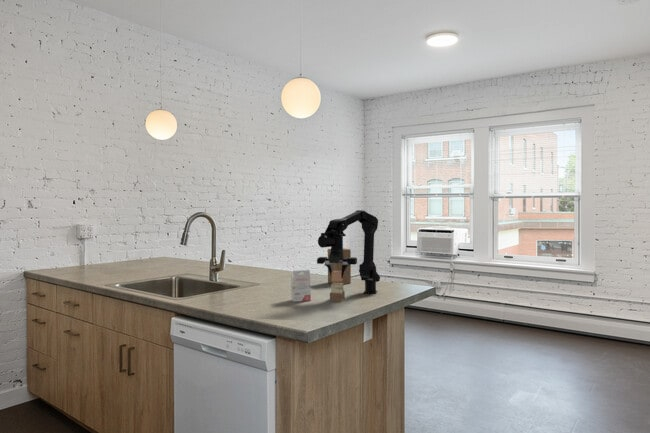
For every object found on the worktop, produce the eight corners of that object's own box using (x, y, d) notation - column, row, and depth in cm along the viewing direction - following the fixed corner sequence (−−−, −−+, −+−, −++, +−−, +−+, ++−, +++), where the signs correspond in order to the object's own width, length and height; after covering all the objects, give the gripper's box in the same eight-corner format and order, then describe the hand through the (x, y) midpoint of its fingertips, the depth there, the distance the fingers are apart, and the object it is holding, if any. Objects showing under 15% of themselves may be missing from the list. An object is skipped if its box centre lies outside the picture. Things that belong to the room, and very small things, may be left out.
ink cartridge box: (308, 298, 227) (308, 268, 226) (310, 300, 222) (310, 270, 221) (291, 299, 224) (290, 269, 224) (293, 301, 219) (292, 270, 219)
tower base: (332, 298, 227) (332, 290, 226) (344, 299, 225) (344, 291, 225) (329, 301, 221) (329, 293, 221) (342, 301, 219) (342, 293, 219)
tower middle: (333, 291, 226) (333, 282, 226) (343, 291, 225) (343, 283, 225) (331, 292, 221) (331, 284, 221) (341, 293, 220) (341, 284, 220)
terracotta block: (333, 279, 225) (333, 270, 225) (342, 280, 224) (342, 270, 224) (331, 281, 221) (331, 271, 221) (340, 281, 220) (340, 272, 220)
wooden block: (351, 283, 270) (350, 249, 269) (336, 285, 265) (336, 250, 264) (341, 281, 278) (341, 247, 278) (327, 282, 273) (327, 248, 273)
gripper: (313, 247, 217) (314, 280, 217) (353, 247, 212) (353, 281, 213) (319, 245, 227) (319, 277, 228) (357, 245, 223) (357, 278, 223)
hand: (337, 278), depth 223 cm, fingers closed on terracotta block, 4 cm apart
